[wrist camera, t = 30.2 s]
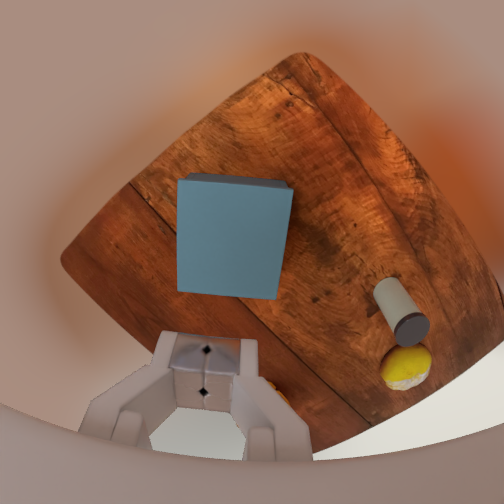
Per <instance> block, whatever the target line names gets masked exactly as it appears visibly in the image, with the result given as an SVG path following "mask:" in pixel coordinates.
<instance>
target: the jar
mask: <svg viewBox="0 0 504 504" xmlns="http://www.w3.org/2000/svg"><path fill="white" fill-rule="evenodd" d="M373 297H374V299H375V301H376V303H377V305H378V306H379V308H380V310H381V312H382V314H383V315H384V317H385V319H386V321H387V323H388V325H389V326H390V328H391V330H392V332H393V334H394V338H395V340H396V342H397V343H398V344H399V345H400V346H403V347H409V346H413V345H415V344H417V343H419V342H420V341H421V340H422V339H423V338H424V337H425V336H426V335H427V333H428V331H429V328H430V322H429V320H428V318H427V317H426V316H425V315H424V314H423V313H422V312H421V310H420V309H419V307H418V306H417V304H416V303H415V302H414V300H413V299H412V297H411V296H410V295H409V293H408V292H407V291H406V289H405V288H404V286H403V285H402V284H401V282H400V281H399V280H398V279H396V278H394V277H388V278H385V279H383V280H381V281H380V282H379V283H378V284H377V285H376V287H375V289H374V292H373Z"/></svg>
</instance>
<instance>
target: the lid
mask: <svg viewBox="0 0 504 504" xmlns="http://www.w3.org/2000/svg"><path fill="white" fill-rule="evenodd" d="M293 191H294V190H293V188H286V187H277V186H267V185H257V184H247V183H236V182H224V181H212V180H198V179H183V178H179V179H178V190H177V285H178V291H183V292H193V293H203V294H213V295H224V296H235V297H246V298H259V299H271V300H276V297H277V291H278V286H279V280H280V274H281V268H282V262H283V256H284V249H285V243H286V237H287V231H288V224H289V218H290V211H291V205H292V198H293Z"/></svg>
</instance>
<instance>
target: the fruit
mask: <svg viewBox="0 0 504 504" xmlns="http://www.w3.org/2000/svg"><path fill="white" fill-rule="evenodd" d="M382 360H383V361H382V364H381V367H380V371H379V374H380V375H381V377H382V378H383V380H384V381H385V384H386V385H387V386H388V387H389V388H391V389H393V390H407V389H409V388H411V387H412V386H416V385H418V384H419V383H421V382H422V381H424V379H425V378H426V377H427V376H428V375H429V371H430V367H431V355H430V352H429V351H428V349H427V348H426V347H425V346H423V345H422V344H420V343H417V344H415V345H413V346H409V347H403V346H400V345H397V346H395V347H393V348H392V349H391V350H390V351H389V352H388V353H387V354H386V355H385V357H384V359H382Z"/></svg>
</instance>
